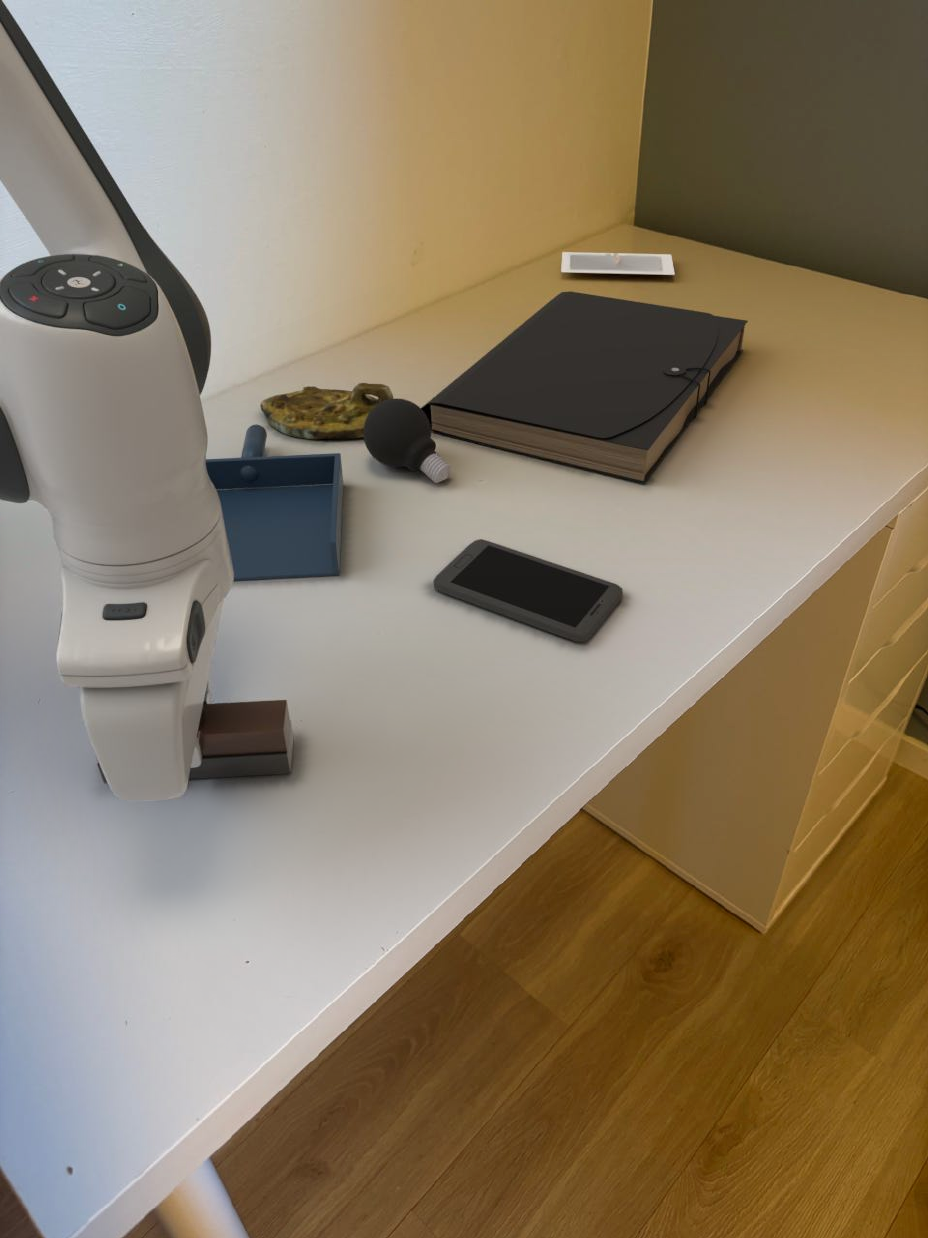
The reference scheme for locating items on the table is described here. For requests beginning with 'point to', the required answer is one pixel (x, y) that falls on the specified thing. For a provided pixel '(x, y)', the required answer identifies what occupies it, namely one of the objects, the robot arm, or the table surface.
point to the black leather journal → (592, 383)
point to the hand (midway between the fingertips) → (194, 736)
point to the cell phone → (529, 589)
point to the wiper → (243, 739)
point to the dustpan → (280, 511)
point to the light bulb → (403, 438)
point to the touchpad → (617, 263)
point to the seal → (324, 411)
